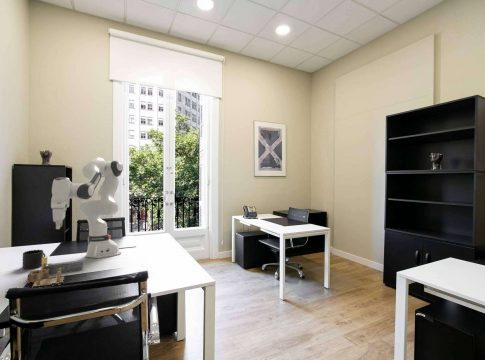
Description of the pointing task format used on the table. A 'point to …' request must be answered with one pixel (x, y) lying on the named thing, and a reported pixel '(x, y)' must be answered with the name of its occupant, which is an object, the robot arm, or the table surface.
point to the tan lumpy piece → (33, 275)
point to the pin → (43, 262)
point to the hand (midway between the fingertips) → (59, 227)
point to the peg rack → (48, 281)
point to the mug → (32, 259)
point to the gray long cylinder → (64, 266)
